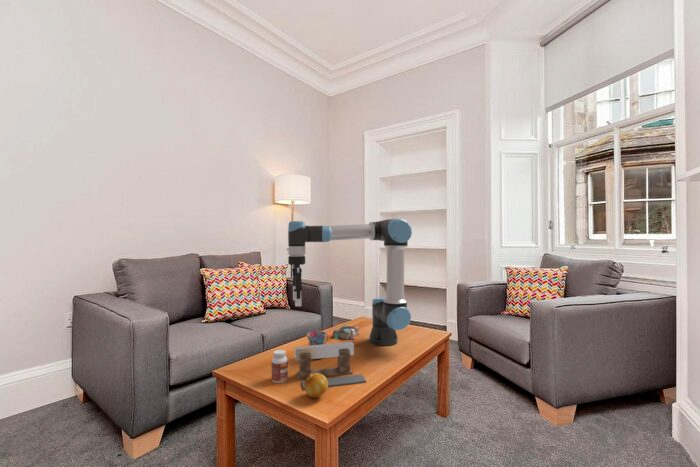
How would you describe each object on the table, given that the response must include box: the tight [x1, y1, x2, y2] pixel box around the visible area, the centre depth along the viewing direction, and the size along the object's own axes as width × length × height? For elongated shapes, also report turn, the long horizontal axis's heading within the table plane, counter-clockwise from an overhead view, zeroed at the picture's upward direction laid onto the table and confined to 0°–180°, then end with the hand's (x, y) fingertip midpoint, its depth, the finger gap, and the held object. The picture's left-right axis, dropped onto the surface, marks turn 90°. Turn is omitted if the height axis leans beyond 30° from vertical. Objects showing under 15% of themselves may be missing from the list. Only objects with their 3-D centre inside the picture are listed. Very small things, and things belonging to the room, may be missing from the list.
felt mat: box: [301, 374, 367, 391], centre depth 127 cm, size 24×6×1 cm, turn 105°
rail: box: [293, 341, 355, 362], centre depth 135 cm, size 24×3×4 cm, turn 105°
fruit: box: [304, 373, 329, 399], centre depth 116 cm, size 8×8×8 cm
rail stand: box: [296, 350, 354, 381], centre depth 135 cm, size 22×6×9 cm, turn 105°
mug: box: [306, 330, 329, 360], centre depth 155 cm, size 12×9×11 cm
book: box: [332, 324, 360, 341], centre depth 184 cm, size 20×12×5 cm, turn 150°
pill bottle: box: [271, 349, 289, 384], centre depth 129 cm, size 6×6×11 cm
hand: (297, 303), depth 148 cm, fingers open, 13 cm apart
